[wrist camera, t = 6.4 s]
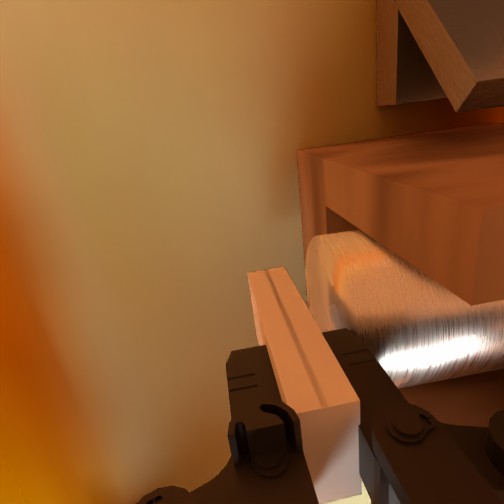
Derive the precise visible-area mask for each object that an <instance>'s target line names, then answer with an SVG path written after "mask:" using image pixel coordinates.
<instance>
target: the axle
mask: <svg viewBox="0 0 504 504" xmlns="http://www.w3.org/2000/svg"><path fill="white" fill-rule="evenodd" d="M305 274H306V291H307V300H308V307H309V312H310V313H311V315H312V317H313V319H314V320H315V322H316V324H317V326H318V327H319V329H320V331H321V333H322V332H327V331H332V330H337V329H342V328H347V329H349V330H350V331H352V332H353V333H355V334H357V335H358V336H360V337H361V339H362V340H363V341H364V343H365V344H366V345H367V347H368V348H369V351H371V352H372V354H373V355H374V356H375V358H376V360H377V362H379V363H380V365H381V366H382V367H383V369H384V370H385V371H386V373H387V374H388V375H389V377H390V378H391V380H392V381H393V382H394V384H395V385H396V386H397V388H403V387H409V386H414V385H420V384H425V383H430V382H436V381H441V380H446V379H452V378H457V377H462V376H468V375H473V374H478V373H484V372H489V371H495V370H500V369H504V300H500V301H494V302H489V303H484V304H478V305H473V306H471V305H469V304H468V303H466V302H465V301H464V300H462V299H461V298H459V297H458V296H456V295H455V294H453V293H452V292H450V291H449V290H447V289H446V288H445V287H443V286H442V285H440V284H439V283H437V282H436V281H434V280H433V279H431V278H430V277H429V276H427V275H426V274H424V273H423V272H421V271H420V270H418V269H417V268H415V267H414V266H413V265H411V264H410V263H408V262H407V261H405V260H404V259H402V258H401V257H399V256H398V255H397V254H395V253H394V252H392V251H391V250H389V249H388V248H386V247H385V246H383V245H382V244H380V243H379V242H378V241H376V240H375V239H373V238H372V237H370V236H369V235H367V234H366V233H364V232H363V231H362V230H353V231H346V232H339V233H332V234H325V235H318V236H315V237H313V238H312V239H311V241H310V243H309V246H308V249H307V255H306V269H305Z"/></svg>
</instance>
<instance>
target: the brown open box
mask: <svg viewBox="0 0 504 504" xmlns="http://www.w3.org/2000/svg"><path fill="white" fill-rule="evenodd" d="M297 164H298V178H299V192H300V205H301V219H302V232H303V246H304V260H305V269H306V255H307V249H308V246H309V243H310V241H311V239H312V238H313V237H315V236H318V235H325V234H332V233H339V232H346V231H353V230H362V231H363V232H364V233H366V234H367V235H369V236H370V237H372V238H373V239H375V240H376V241H378V242H379V243H380V244H382V245H383V246H385V247H386V248H388V249H389V250H391V251H392V252H394V253H395V254H397V255H398V256H399V257H401V258H402V259H404V260H405V261H407V262H408V263H410V264H411V265H413V266H414V267H415V268H417V269H418V270H420V271H421V272H423V273H424V274H426V275H427V276H429V277H430V278H431V279H433V280H434V281H436V282H437V283H439V284H440V285H442V286H443V287H445V288H446V289H447V290H449V291H450V292H452V293H453V294H455V295H456V296H458V297H459V298H461V299H462V300H464V301H465V302H466V303H468V304H469V305H471V306H473V305H478V304H484V303H489V302H494V301H500V300H504V123H487V124H480V125H473V126H466V127H459V128H452V129H445V130H438V131H431V132H424V133H417V134H410V135H402V136H395V137H388V138H381V139H374V140H367V141H360V142H353V143H346V144H339V145H332V146H325V147H318V148H311V149H304V150H297ZM307 301H308V300H307ZM308 310H309V307H308ZM398 389H399V390H400V392H401V393H402V395H403V396H404V397H405V399H406V400H407V401H408V402H409V403H410V404H413V405H416V406H418V407H420V408H422V409H424V410H426V411H428V412H429V413H431V414H432V415H433V416H434V417H435V418H436V419H437V420H438V421H439V422H442V423H446V424H452V425H462V426H476V427H488V425H489V419H490V418H491V417H492V416H493V415H494V414H495V413H496V412H497V411H501V410H504V369H500V370H495V371H489V372H484V373H478V374H473V375H468V376H462V377H457V378H452V379H446V380H441V381H436V382H430V383H425V384H420V385H414V386H409V387H403V388H398Z"/></svg>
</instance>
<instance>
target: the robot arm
mask: <svg viewBox="0 0 504 504" xmlns="http://www.w3.org/2000/svg"><path fill="white" fill-rule="evenodd" d="M247 274H248V281H249V288H250V294H251V301H252V308H253V315H254V321H255V328H256V335H257V339H258V343H259V346H256V347H251V348H246V349H240V350H235V351H232V352H231V354H230V356H229V358H228V361H227V363H226V371H227V380H228V390H229V400H230V409H231V421H230V423H229V428H228V440H229V444H230V449H231V454H232V455H231V458H230V460H229V461H228V463H227V465H226V467H225V468H224V469H223V470H222V471H221V472H220V473H219V474H218V475H217V476H216V477H215V478H213V479H212V480H210V481H209V482H207V483H206V484H204V485H202V486H201V487H199V488H197V489H195V490H194V491H192V492H190V493H189V492H188V491H187V490H186V489H183V488H179V487H175V486H168V487H163V488H158V489H156V490H154V491H152V492H151V493H149V494H147V495H145V496H144V497H143V498H142V499H141V500H140V501H139V502H138V503H137V504H321V503H326V502H331V501H335V500H339V499H343V498H347V497H352V496H356V495H360V494H362V487H361V479H362V481H363V483H364V485H365V487H366V490H367V492H368V494H369V496H370V499H371V504H504V410H501V411H497V412H496V413H495V414H494V415H493V416H492V417H491V418H490V419H489V425H488V427H476V426H462V425H452V424H446V423H442V422H439V421H438V420H437V419H436V418H435V417H434V416H433V415H432V414H431V413H429V412H428V411H426V410H424V409H422V408H420V407H418V406H416V405H413V404H410V403H409V402H408V401H407V400H406V399H405V397H404V396H403V395H402V393H401V392H400V390H399V389H398V388H397V386H396V385H395V384H394V382H393V381H392V380H391V378H390V377H389V375H388V374H387V373H386V371H385V370H384V369H383V367H382V366H381V365H380V363H379V362H377V360H376V358H375V356H374V355H373V354H372V352H371V351H369V348H368V347H367V345H366V344H365V343H364V341H363V340H362V339H361V337H360V336H358V335H357V334H355V333H353V332H352V331H350V330H349V329H347V328H342V329H337V330H332V331H327V332H322V333H321V331H320V329H319V327H318V326H317V324H316V322H315V320H314V319H313V317H312V315H311V313H310V312H309V310H308V308H307V306H306V305H305V303H304V301H303V299H302V297H301V296H300V294H299V292H298V290H297V289H296V287H295V285H294V283H293V282H292V280H291V278H290V276H289V275H288V273H287V271H286V269H285V268H284V267H278V268H273V269H267V270H261V271H256V272H250V273H247Z"/></svg>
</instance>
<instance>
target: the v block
mask: <svg viewBox="0 0 504 504" xmlns="http://www.w3.org/2000/svg"><path fill="white" fill-rule="evenodd" d="M440 98H448V99H449V101H450V103H451V105H452V106H453V108H454V110H455V112H464V111H471V110H478V109H485V108H493V107H500V106H504V0H377V72H376V106H383V105H396V104H403V103H411V102H418V101H425V100H433V99H440Z"/></svg>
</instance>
